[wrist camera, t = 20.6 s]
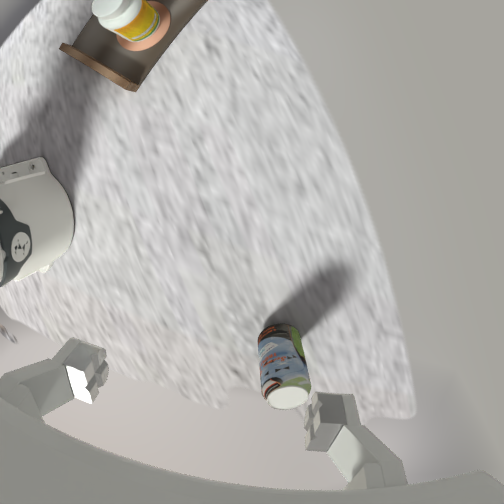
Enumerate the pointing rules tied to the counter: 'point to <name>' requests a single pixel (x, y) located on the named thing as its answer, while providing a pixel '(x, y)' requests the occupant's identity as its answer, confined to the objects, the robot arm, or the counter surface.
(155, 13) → the supplement bottle
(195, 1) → the walled bay
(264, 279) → the counter surface
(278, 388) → the beverage can
